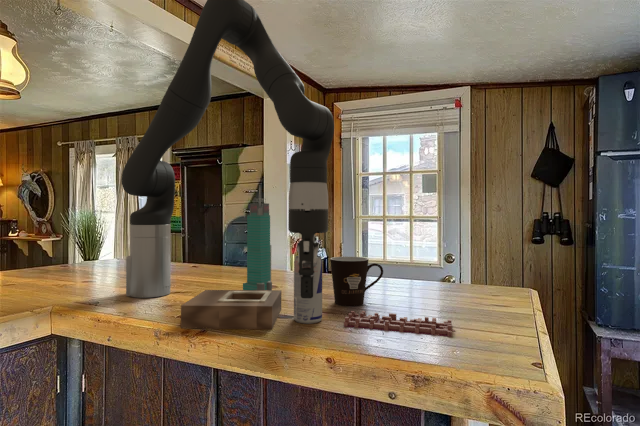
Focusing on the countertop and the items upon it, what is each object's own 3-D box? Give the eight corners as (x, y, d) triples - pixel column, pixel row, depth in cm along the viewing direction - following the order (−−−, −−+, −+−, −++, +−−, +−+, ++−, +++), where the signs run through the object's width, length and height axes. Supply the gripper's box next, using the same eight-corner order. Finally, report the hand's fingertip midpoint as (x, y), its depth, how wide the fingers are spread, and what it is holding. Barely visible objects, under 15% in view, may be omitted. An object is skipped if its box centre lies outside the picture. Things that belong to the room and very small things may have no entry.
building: (276, 294, 99) (277, 173, 99) (261, 299, 93) (261, 171, 93) (258, 291, 102) (258, 174, 102) (241, 296, 97) (242, 172, 97)
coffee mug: (326, 306, 86) (326, 260, 86) (334, 298, 95) (334, 256, 95) (380, 309, 84) (380, 262, 84) (383, 300, 92) (383, 257, 92)
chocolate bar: (455, 340, 66) (455, 328, 66) (343, 329, 71) (343, 318, 71) (455, 328, 72) (455, 317, 72) (352, 319, 78) (353, 309, 78)
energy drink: (325, 317, 77) (325, 255, 77) (317, 325, 72) (318, 258, 72) (299, 315, 79) (299, 254, 79) (289, 322, 74) (290, 257, 73)
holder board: (181, 328, 70) (181, 303, 70) (205, 308, 84) (205, 288, 84) (271, 329, 70) (272, 304, 69) (281, 309, 84) (281, 288, 83)
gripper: (292, 207, 83) (291, 286, 83) (284, 206, 68) (284, 301, 68) (328, 207, 82) (328, 286, 82) (328, 207, 68) (328, 301, 68)
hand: (308, 293), depth 75 cm, fingers open, 8 cm apart
